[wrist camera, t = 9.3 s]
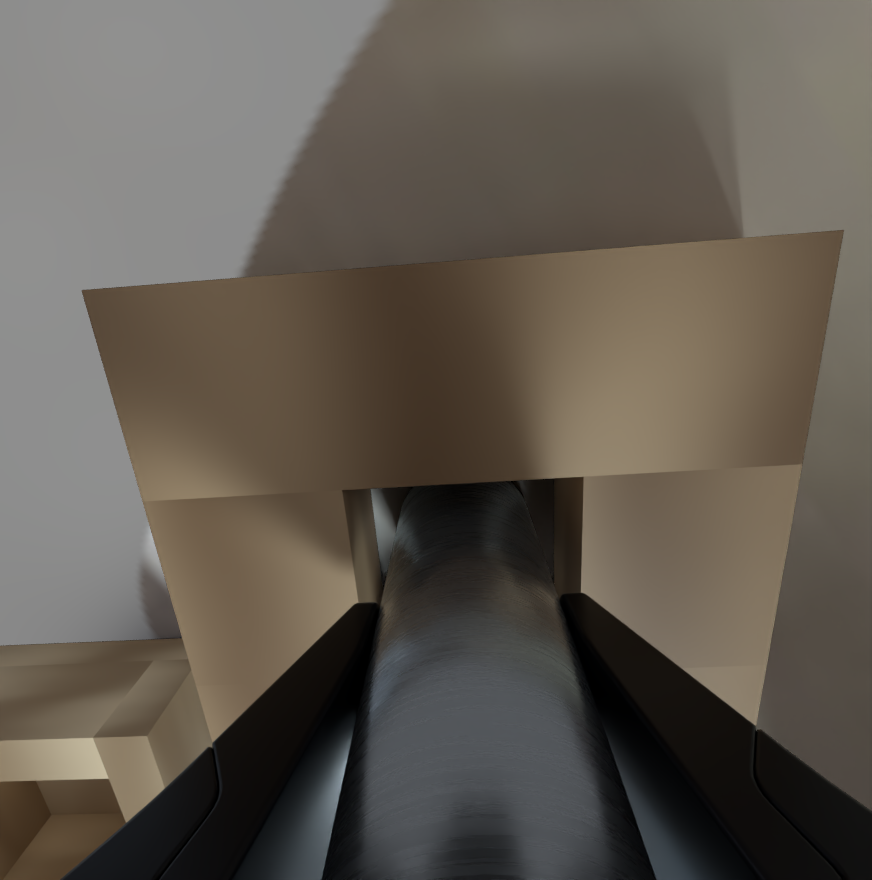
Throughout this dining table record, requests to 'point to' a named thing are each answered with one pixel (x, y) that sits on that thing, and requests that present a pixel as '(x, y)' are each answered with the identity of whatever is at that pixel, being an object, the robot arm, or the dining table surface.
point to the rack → (88, 744)
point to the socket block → (476, 436)
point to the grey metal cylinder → (478, 714)
